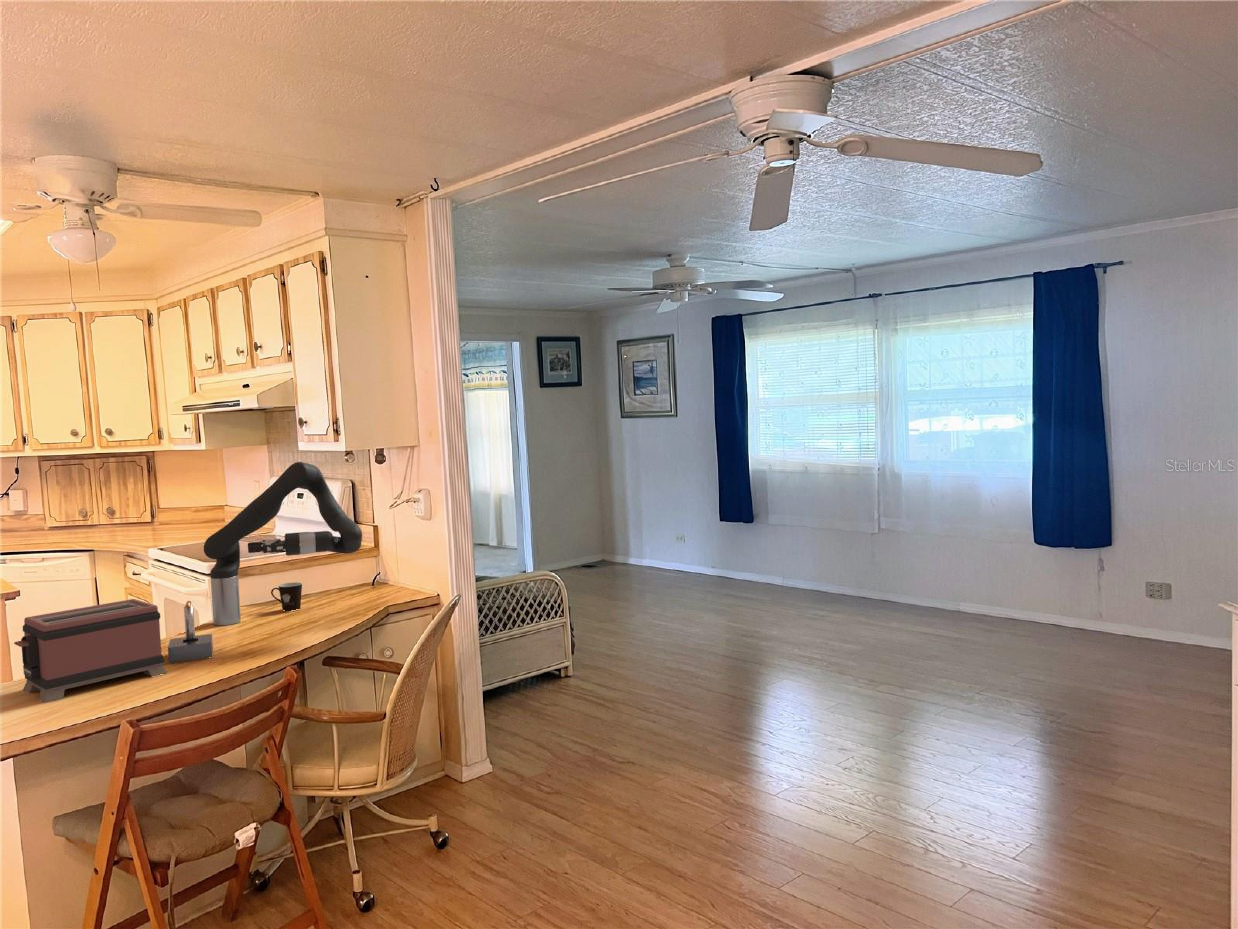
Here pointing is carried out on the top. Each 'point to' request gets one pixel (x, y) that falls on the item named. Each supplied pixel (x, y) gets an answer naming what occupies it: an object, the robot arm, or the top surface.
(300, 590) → the coffee mug
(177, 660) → the block
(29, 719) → the top surface
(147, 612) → the toaster
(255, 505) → the robot arm
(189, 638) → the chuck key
